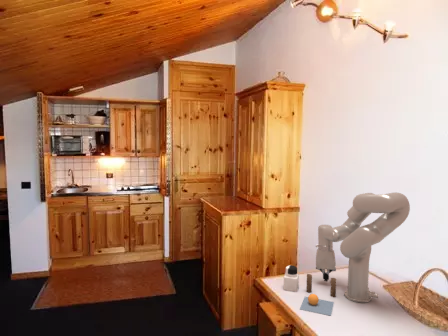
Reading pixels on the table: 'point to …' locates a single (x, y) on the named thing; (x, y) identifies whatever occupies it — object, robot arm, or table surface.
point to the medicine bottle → (291, 279)
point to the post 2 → (333, 287)
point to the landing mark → (317, 306)
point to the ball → (313, 299)
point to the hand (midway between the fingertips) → (326, 280)
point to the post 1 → (309, 283)
